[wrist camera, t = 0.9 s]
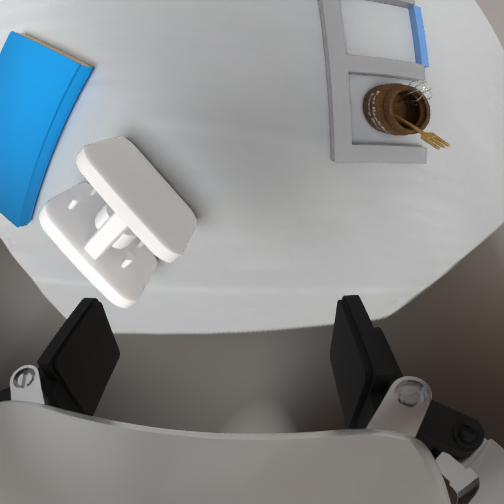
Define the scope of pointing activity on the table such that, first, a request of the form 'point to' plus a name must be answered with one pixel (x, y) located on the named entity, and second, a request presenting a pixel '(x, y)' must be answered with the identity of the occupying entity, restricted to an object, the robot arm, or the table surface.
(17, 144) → the book
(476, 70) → the table surface
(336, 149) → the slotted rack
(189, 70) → the table surface
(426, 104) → the utensil holder
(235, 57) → the table surface
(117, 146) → the cable organizer
